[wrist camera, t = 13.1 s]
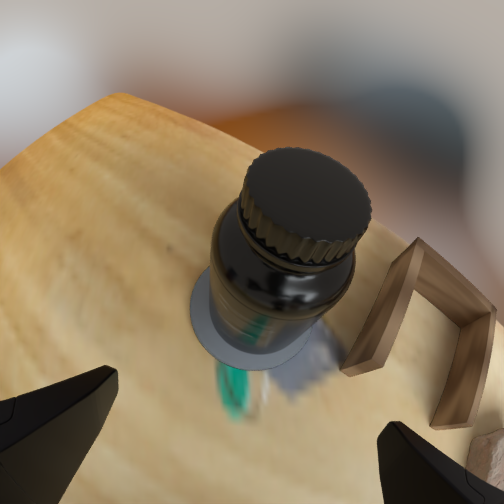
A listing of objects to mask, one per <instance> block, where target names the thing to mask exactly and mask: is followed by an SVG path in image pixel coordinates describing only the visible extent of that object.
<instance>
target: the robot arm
mask: <svg viewBox="0 0 504 504" xmlns="http://www.w3.org/2000/svg"><path fill="white" fill-rule="evenodd" d="M117 393H118V371H117V370H116V369H115V368H112V367H110V366H108V365H103V366H101V367H98V368H96V369H93V370H90V371H88V372H85V373H82V374H80V375H77V376H74V377H72V378H69V379H66V380H63V381H61V382H58V383H55V384H52V385H49V386H46V387H43V388H40V389H38V390H35V391H32V392H29V393H25V394H22V395H19V396H17V397H13V398H10V399H6V400H3V401H0V504H58V503H59V502H60V500H61V498H62V496H63V494H64V493H65V491H66V489H67V487H68V485H69V484H70V482H71V480H72V478H73V477H74V475H75V473H76V472H77V470H78V468H79V466H80V465H81V463H82V461H83V460H84V458H85V456H86V455H87V453H88V451H89V450H90V448H91V446H92V445H93V443H94V441H95V440H96V438H97V436H98V435H99V433H100V431H101V429H102V427H103V425H104V423H105V420H106V418H107V416H108V413H109V411H110V409H111V407H112V405H113V402H114V400H115V398H116V396H117ZM377 449H378V461H379V474H380V481H381V487H382V493H383V499H384V504H504V491H503V490H501V489H499V488H497V487H495V486H493V485H491V484H489V483H487V482H485V481H484V480H482V479H480V478H479V477H477V476H475V475H474V474H472V473H471V472H469V471H468V470H467V469H464V467H462V466H461V465H459V464H458V463H456V462H455V461H454V460H452V459H451V458H449V457H448V456H447V455H445V454H444V453H442V452H441V451H440V450H438V449H437V448H435V447H434V446H433V445H431V444H430V443H429V442H427V441H426V440H425V439H423V438H422V437H421V436H419V435H418V434H417V433H415V432H414V431H413V430H411V429H410V428H409V427H407V426H406V425H405V424H403V423H402V422H400V421H391V422H389V423H388V424H387V425H386V427H385V428H384V429H383V431H382V432H381V433H380V435H379V436H378V438H377Z"/></svg>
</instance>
